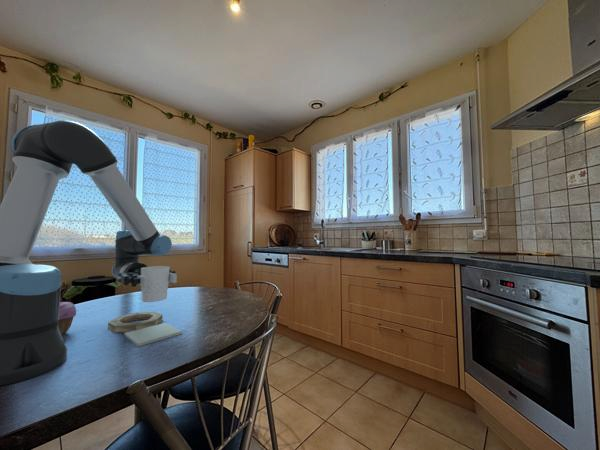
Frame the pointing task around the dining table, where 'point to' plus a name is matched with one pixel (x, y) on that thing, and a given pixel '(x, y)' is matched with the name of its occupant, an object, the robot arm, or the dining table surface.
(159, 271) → the white cup
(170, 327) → the pad
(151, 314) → the collar
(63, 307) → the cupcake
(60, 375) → the dining table surface
